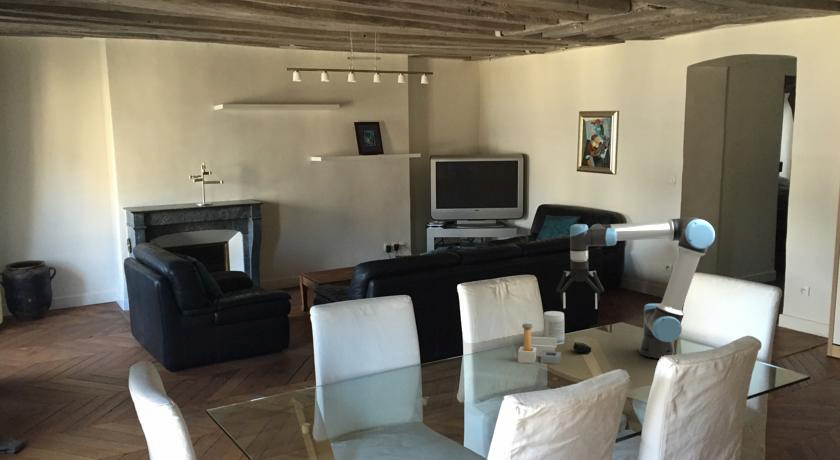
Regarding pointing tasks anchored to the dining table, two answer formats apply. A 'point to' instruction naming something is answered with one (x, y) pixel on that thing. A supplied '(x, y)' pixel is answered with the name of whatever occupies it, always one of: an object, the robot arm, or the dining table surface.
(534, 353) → the socket block
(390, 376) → the dining table surface
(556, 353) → the pin mount
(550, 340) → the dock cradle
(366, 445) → the dining table surface
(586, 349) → the tape measure
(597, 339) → the dining table surface
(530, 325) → the lock pin
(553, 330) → the supplement tub
